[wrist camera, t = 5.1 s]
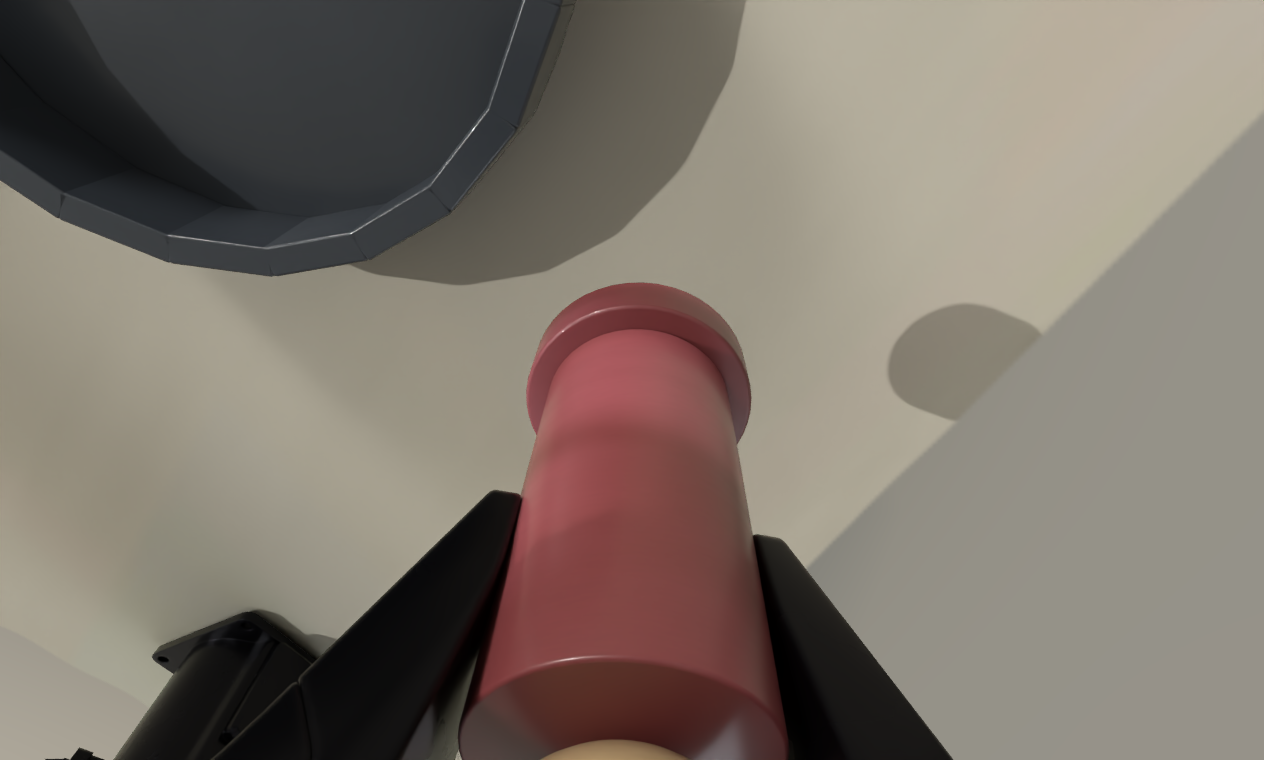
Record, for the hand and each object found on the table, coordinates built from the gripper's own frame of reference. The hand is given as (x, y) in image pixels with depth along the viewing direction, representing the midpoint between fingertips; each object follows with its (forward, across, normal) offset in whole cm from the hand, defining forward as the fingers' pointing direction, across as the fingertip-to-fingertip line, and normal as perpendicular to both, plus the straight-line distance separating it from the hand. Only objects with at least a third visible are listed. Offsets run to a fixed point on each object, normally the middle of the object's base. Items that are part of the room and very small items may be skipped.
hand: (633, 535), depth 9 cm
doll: (+4, 0, 0) cm, 4 cm away
